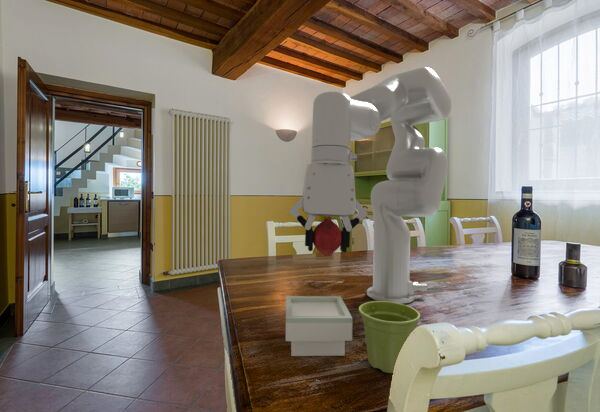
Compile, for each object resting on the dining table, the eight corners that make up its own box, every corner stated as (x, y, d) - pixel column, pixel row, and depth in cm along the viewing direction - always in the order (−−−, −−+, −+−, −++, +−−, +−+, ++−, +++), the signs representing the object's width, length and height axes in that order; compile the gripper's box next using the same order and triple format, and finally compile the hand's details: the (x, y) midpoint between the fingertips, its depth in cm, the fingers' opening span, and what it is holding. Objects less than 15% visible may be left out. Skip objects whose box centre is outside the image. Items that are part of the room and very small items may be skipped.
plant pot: (351, 349, 53) (352, 300, 53) (403, 348, 54) (404, 299, 53) (367, 382, 43) (369, 323, 43) (430, 379, 44) (431, 321, 44)
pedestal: (340, 329, 61) (340, 296, 61) (351, 358, 50) (352, 318, 50) (285, 329, 60) (286, 296, 60) (285, 359, 49) (285, 318, 49)
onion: (340, 260, 55) (341, 216, 55) (309, 257, 57) (311, 215, 57) (342, 255, 61) (343, 216, 61) (314, 253, 62) (315, 214, 62)
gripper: (368, 163, 63) (365, 249, 63) (286, 159, 62) (283, 246, 62) (379, 157, 55) (375, 255, 55) (286, 153, 55) (282, 252, 55)
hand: (326, 249), depth 59 cm, fingers closed on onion, 5 cm apart
